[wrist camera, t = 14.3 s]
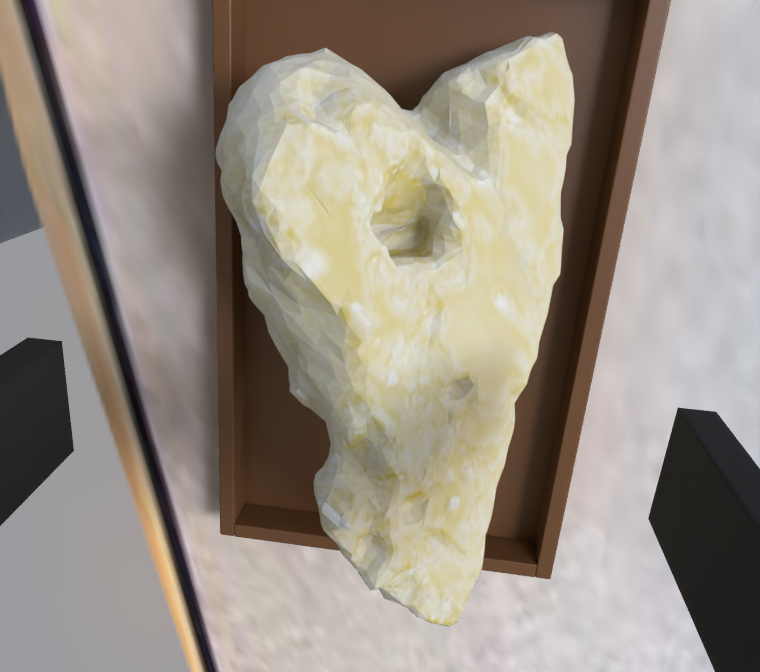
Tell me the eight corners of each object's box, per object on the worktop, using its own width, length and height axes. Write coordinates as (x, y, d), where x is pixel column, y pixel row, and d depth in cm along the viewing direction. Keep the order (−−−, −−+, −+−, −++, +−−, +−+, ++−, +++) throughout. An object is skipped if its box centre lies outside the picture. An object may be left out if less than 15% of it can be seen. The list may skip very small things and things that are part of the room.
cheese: (337, -44, 23) (-15, 278, 18) (500, -134, 17) (43, 307, 12) (532, 280, 31) (325, 563, 26) (688, 294, 25) (458, 662, 20)
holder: (235, 504, 29) (219, 534, 28) (233, -55, 22) (210, -67, 20) (544, 545, 28) (550, 579, 27) (658, -26, 21) (678, -36, 19)
